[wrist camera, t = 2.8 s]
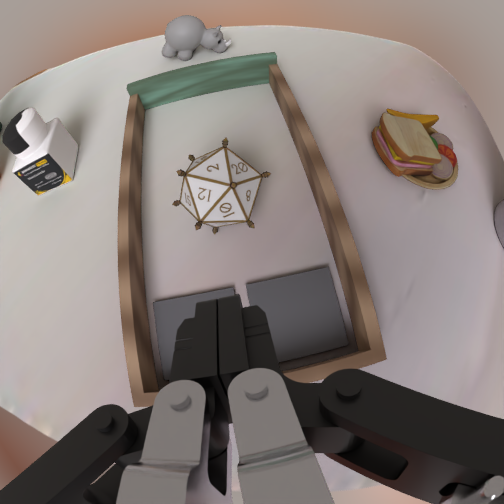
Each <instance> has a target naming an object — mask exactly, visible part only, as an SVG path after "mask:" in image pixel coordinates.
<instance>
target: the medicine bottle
mask: <svg viewBox="0 0 504 504" xmlns="http://www.w3.org/2000/svg"><path fill="white" fill-rule="evenodd" d="M3 143H4V144H5V145H6V146H7V147H8V148H9V150H10V151H11V152H12V153H13V154H14V155H15V156H16V160H15V163H14V166H13V170H12V172H13V173H14V174H15V175H16V176H17V177H18V178H20V179H21V180H22V181H23V182H24V183H25V184H26V185H27V186H28V187H29V188H30V189H32V190H33V191H34V192H35V193H36V194H37V195H42V194H44V193H46V192H48V191H50V190H53V189H55V188H57V187H59V186H62V185H64V184H66V183H69V182H71V181H72V180H73V175H74V169H75V164H76V158H77V153H78V148H79V146H78V144H77V143H76V142H75V140H74V139H73V138H72V136H71V135H70V134H69V132H68V131H67V130H66V128H65V127H64V125H63V124H62V123H61V121H60V120H59V119H58V118H55V119H53V120H51V121H50V122H48V123H45V122H44V120H43V119H42V118H41V116H40V115H39V114H38V112H37V111H36V110H35V108H27V109H25V110H23V111H21V112H20V113H18V114H17V115H16V116H15V117H14V118H13V119H12V120H11V121H10V123H9V124H8V125H7V127H6V129H5V131H4V134H3Z"/></svg>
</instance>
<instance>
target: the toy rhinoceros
mask: <svg viewBox="0 0 504 504" xmlns="http://www.w3.org/2000/svg"><path fill="white" fill-rule="evenodd" d="M220 28H221V25H220V26H218V27H216V28H211V29H206V28H205V25H204V23H203V22H202V21H201V20H200V19H198V18H197V17H194V16H189V15H185V16H181V17H178V18H176V19H174V20H172V21H171V22H170V23H168V24H167V28H166V30H165V39H166V43H165V45H164V47H163V49H162V55H163V56H164V57H173V56H175V54H176V51H177V52H178V58H179V59H180V60H183V61H186V60H189V59H191V57H192V52H193V51H194V50H195V48H196V47H198V46H199V45H202V46H203V47H204V48H207V49H213V50H214V51H215V52H218V53H221V52H224V51H225V50H226V49H227V47H228V46H229V45H230V44H231V38H230V40H229V41H228V42H226V40H224V39H223V34H222V32H221V31H220Z"/></svg>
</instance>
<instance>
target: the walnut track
mask: <svg viewBox="0 0 504 504" xmlns="http://www.w3.org/2000/svg"><path fill="white" fill-rule="evenodd" d="M265 83H269V84H270V86H271V88H272V91H273V93H274V95H275V97H276V100H277V102H278V104H279V107H280V109H281V111H282V114H283V116H284V119H285V121H286V123H287V126H288V128H289V131H290V133H291V136H292V138H293V141H294V143H295V146H296V149H297V151H298V154H299V156H300V159H301V162H302V164H303V167H304V170H305V172H306V175H307V178H308V181H309V183H310V186H311V189H312V192H313V195H314V198H315V201H316V203H317V206H318V209H319V212H320V215H321V218H322V221H323V224H324V228H325V231H326V234H327V237H328V240H329V243H330V247H331V250H332V253H333V256H334V260H335V263H336V267H337V270H338V273H339V277H340V280H341V284H342V288H343V291H344V295H345V299H346V302H347V306H348V310H349V314H350V318H351V322H352V326H353V330H354V334H355V338H356V343H357V347H358V351H357V352H354V353H351V354H347V355H344V356H341V357H337V358H334V359H330V360H326V361H322V362H319V363H315V364H311V365H307V366H303V367H299V368H294V369H290V370H285V371H282V373H283V374H284V375H285V376H286V377H288V378H289V379H291V380H294V381H297V382H301V383H310V382H314V381H318V380H322V379H325V378H326V377H327V376H329V375H330V374H332V373H334V372H336V371H338V370H342V369H359V368H362V367H366V366H369V365H372V364H375V363H377V362H380V361H383V360H386V359H387V358H386V354H385V349H384V345H383V340H382V336H381V332H380V328H379V324H378V320H377V316H376V312H375V309H374V305H373V301H372V298H371V294H370V291H369V287H368V284H367V280H366V277H365V274H364V270H363V267H362V264H361V261H360V258H359V254H358V251H357V248H356V245H355V242H354V239H353V236H352V233H351V231H350V228H349V225H348V222H347V219H346V216H345V214H344V211H343V208H342V206H341V203H340V200H339V198H338V195H337V192H336V190H335V187H334V185H333V182H332V180H331V177H330V175H329V172H328V170H327V168H326V165H325V163H324V160H323V158H322V156H321V153H320V151H319V149H318V146H317V144H316V142H315V140H314V137H313V135H312V133H311V131H310V129H309V127H308V124H307V122H306V120H305V118H304V116H303V114H302V112H301V110H300V108H299V106H298V104H297V102H296V100H295V98H294V96H293V94H292V92H291V90H290V88H289V86H288V84H287V82H286V80H285V78H284V76H283V74H282V72H281V71H280V69H279V67H278V65H277V55H276V53H275V52H270V53H261V54H253V55H246V56H239V57H233V58H227V59H221V60H216V61H211V62H206V63H201V64H197V65H192V66H188V67H184V68H180V69H176V70H172V71H169V72H165V73H161V74H158V75H155V76H151V77H148V78H145V79H142V80H139V81H136V82H133V83H130V84H128V85H127V90H128V93H129V95H130V99H129V105H128V111H127V118H126V125H125V133H124V141H123V150H122V159H121V171H120V185H119V203H118V277H119V296H120V309H121V321H122V331H123V340H124V348H125V356H126V363H127V369H128V376H129V382H130V388H131V393H132V398H133V403H134V407H148V406H152V405H154V401H155V398H156V396H157V394H158V393H159V391H160V390H161V389H160V390H159V389H158V383H157V378H156V372H155V366H154V360H153V353H152V346H151V339H150V332H149V323H148V315H147V305H146V295H145V284H144V270H143V254H142V229H141V168H142V145H143V129H144V116H145V110H146V109H150V108H153V107H156V106H160V105H163V104H167V103H170V102H174V101H178V100H182V99H186V98H190V97H194V96H198V95H203V94H208V93H212V92H217V91H222V90H227V89H233V88H239V87H245V86H251V85H258V84H265Z"/></svg>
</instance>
